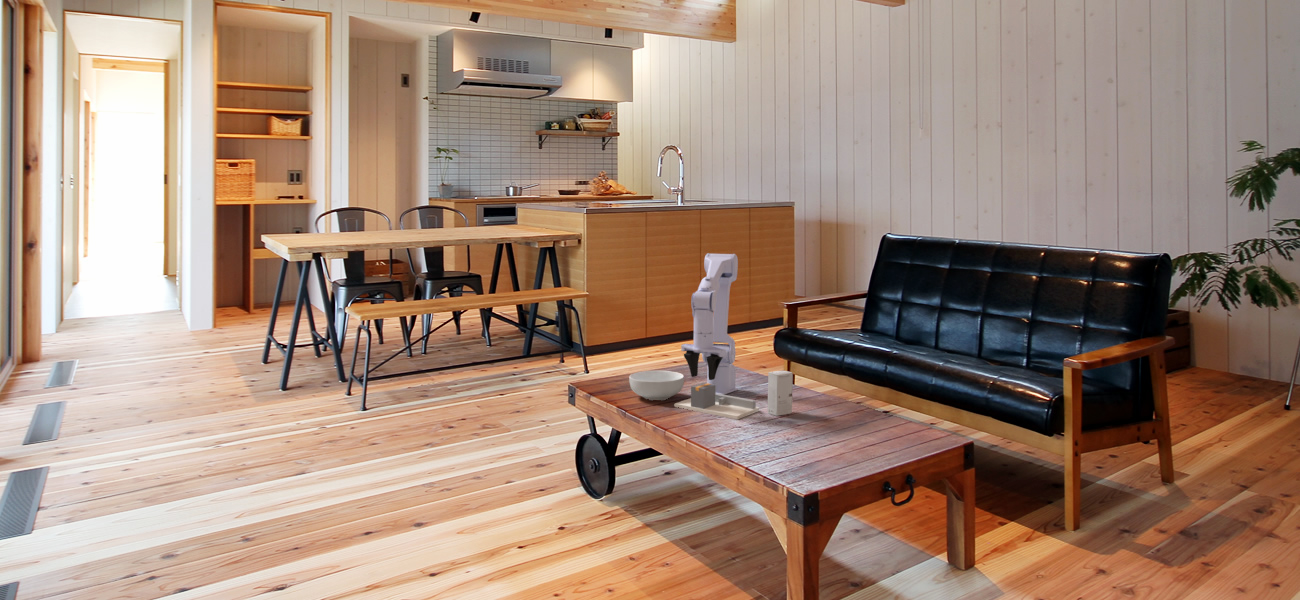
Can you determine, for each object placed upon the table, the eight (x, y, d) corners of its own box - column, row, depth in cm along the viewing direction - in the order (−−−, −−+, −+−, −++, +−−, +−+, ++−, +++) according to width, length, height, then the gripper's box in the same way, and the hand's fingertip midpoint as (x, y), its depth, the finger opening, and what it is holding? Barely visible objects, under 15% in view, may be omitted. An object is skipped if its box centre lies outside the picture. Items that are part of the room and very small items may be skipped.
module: (703, 402, 254) (703, 382, 253) (715, 404, 251) (715, 384, 251) (690, 406, 250) (691, 386, 249) (703, 409, 247) (703, 388, 246)
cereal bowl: (685, 391, 271) (685, 370, 270) (682, 405, 255) (682, 382, 254) (632, 390, 273) (632, 369, 272) (626, 403, 257) (626, 381, 256)
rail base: (697, 398, 262) (697, 388, 262) (759, 410, 249) (759, 400, 248) (674, 406, 253) (674, 396, 253) (737, 419, 239) (737, 408, 239)
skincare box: (777, 416, 243) (777, 375, 241) (766, 413, 246) (767, 372, 245) (793, 413, 246) (793, 372, 244) (782, 409, 250) (783, 369, 248)
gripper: (675, 331, 249) (675, 376, 251) (716, 337, 240) (715, 384, 242) (689, 328, 254) (689, 372, 256) (730, 333, 245) (729, 379, 247)
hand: (703, 377), depth 249 cm, fingers open, 6 cm apart
